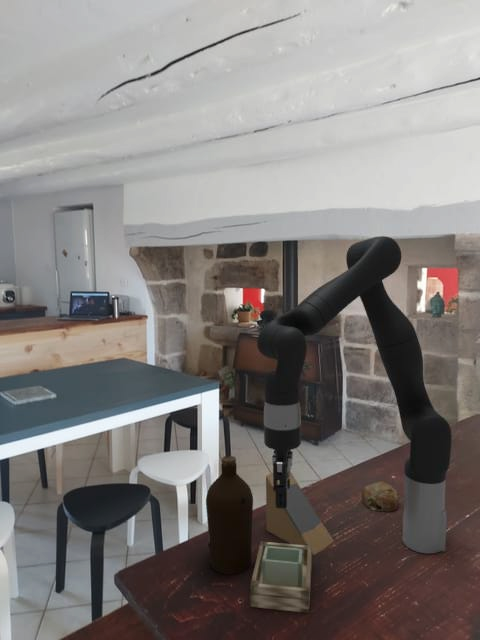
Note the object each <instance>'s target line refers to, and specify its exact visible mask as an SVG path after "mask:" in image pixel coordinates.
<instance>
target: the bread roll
mask: <svg viewBox="0 0 480 640" xmlns="http://www.w3.org/2000/svg"><path fill="white" fill-rule="evenodd" d="M361 499H362V503H363V504H364V505H365V507H367V508H368V509H370V511H378V512H387V513H389V512H390V513H391V512H394V511H395V510H397V509H398V506H399V494H398V492H397V490H396V489H395V488H394V487H393V486H392V485H390V484H389V483H387V482H384V481H376V482H373V484H368V485H366V486H365V487H364V488H363V490H362V493H361Z"/></svg>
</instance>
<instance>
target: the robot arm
mask: <svg viewBox="0 0 480 640" xmlns="http://www.w3.org/2000/svg"><path fill="white" fill-rule="evenodd" d="M345 257H346V259H345V260H346V267H347V269H346V270H345V271H343V272H342V273H341V274H340V275H338V276H336V277H334V278H333V279H331V280H330V281H327V282H326V283H323V285H320V286H319V287H317V288H316V289H315V290H313V292H311V293H310V294H309V295H308V296H307V297H306V298H304V299H303V300H302V301H301V302H300V303H298V305H297V306H295V308H293V309H290V310H289V311H286V312H285V313H283V314H281V315H279V316H278V317H276V318H274V319H273V320H270V322H268V323H267V324H266V325H265V326H264V327H262V328H261V330H260V332H259V334H258V335H257V340H256V346H257V349H258V352H259V353H260V354H261V355H262V356H264V357H266V358H269V359H273V360H277V361H276V363H277V364H276V368H275V370H273V371H269V372H267V374H266V375H265V378H264V407H263V442H264V445H265V446H266V447H267V448H268V449H272V450H273V454H272V456H271V457H272V459H271V462H272V473H273V490H274V492H275V498H276V507H277V508H283V509H285V508H286V507H287V489H289V488H290V471H291V470H292V467H293V458H294V453H293V450H296V449H297V448H299V447H300V445H301V443H302V420H301V419H302V417H301V415H302V413H301V412H302V411H301V405H300V380H301V376H302V373H303V369H304V366H305V361H306V358H307V352H308V346H307V345H308V343H307V339H306V336H314V335H317V334H318V333H319V332H320V331H321V330H323V329H324V328H325V327H326V326H327V325H328V324H329V323H330V322H331V321H333V319H335V318H336V317H337V315H339V314H340V313H341V312H342V311H343V310H344V309H346V307H348V306H350V304H352V303H353V302H354V301H355V300H356V299H358V298H360V301H361V302H362V305H363V308H364V310H365V313H366V316H367V318H368V319H367V320H368V321H369V322H368V323H369V325H370V327H371V330H372V334H373V337H374V340H375V344H376V348H377V351H378V353H379V356H380V359H381V362H382V365H383V367H384V370H385V373H386V375H387V377H388V380H389V383H390V385H391V387H392V390H393V392H394V394H395V395H394V396H395V399H396V404H397V408H398V413H399V417H400V423H401V427H402V431H403V432H404V435H405V436H406V438H407V439H408V440H409V441H410V447H409V449H410V451H409V453H410V454H409V459H407V460H406V461H405V462H404V473H403V475H404V476H403V477H404V478H403V479H404V480H403V481H404V482H403V507H402V508H403V509H402V510H403V511H402V514H403V515H402V542H403V544H404V545H405V546H406V547H407V548H409V549H411V550H412V551H414V552H417V553H420V554H426V555H427V554H428V555H429V554H436V553H439V552H440V553H441V552H446V540H447V511H446V509H445V508H446V507H445V506H446V505H445V503H446V498H445V497H446V478H447V471H449V468H450V464H451V463H450V461H451V455H452V454H451V451H452V437H453V436H452V428H451V426H450V423H449V422H448V421H447V419H445V418H444V417H443V416H442V415H441V414H440V413H438V411H436V410H435V408H434V406H433V404H432V401H431V399H430V396H429V394H428V392H427V389H426V385H425V382H424V357H423V351H422V348H421V345H420V341H419V338H418V335H417V331H416V329H415V327H414V325H413V324H412V322H411V321H410V319H409V318H408V317H407V316H406V315H405V313H404V312H403V311H402V310H401V309H400V308H399V307H398V306H397V305H396V304H395V303H394V301H393V300H392V299H391V297H390V296H389V295H388V292H387V290H386V287H385V285H384V283H383V280H385V279H386V278H389V277H390V276H391V275H393V274H394V273H395V272H397V270H398V268H399V267H400V265H401V261H402V251H401V247H400V246H399V244H398V242H397V241H396V240H395V239H393V238H392V237H390V236H385V235H383V236H382V235H381V236H374V237H371V238H368V239H365V240H360V241H358V242H355V243H353V244H351V245H350V246H349V248H348V249H347V251H346V256H345ZM278 480H280V484H278Z"/></svg>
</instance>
